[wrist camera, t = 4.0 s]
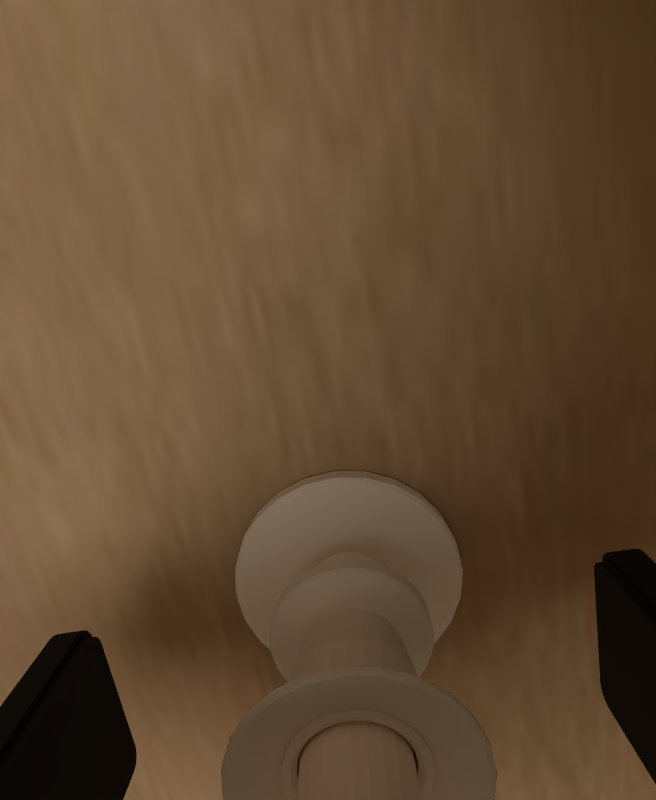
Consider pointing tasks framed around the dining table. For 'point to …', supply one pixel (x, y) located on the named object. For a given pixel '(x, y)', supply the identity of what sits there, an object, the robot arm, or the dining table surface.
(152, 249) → the dining table surface
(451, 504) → the dining table surface
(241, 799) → the candle
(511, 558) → the dining table surface
